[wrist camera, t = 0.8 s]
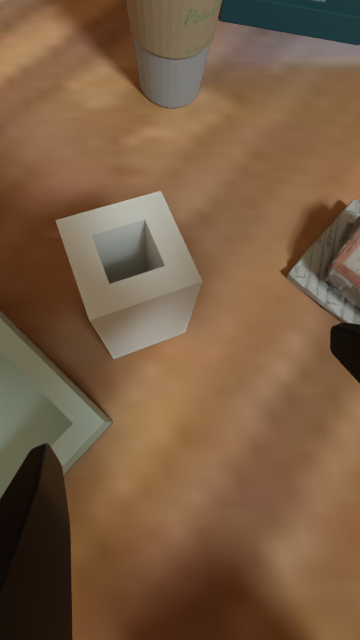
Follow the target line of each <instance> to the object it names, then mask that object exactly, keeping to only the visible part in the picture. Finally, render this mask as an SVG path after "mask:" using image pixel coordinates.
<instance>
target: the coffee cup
mask: <svg viewBox="0 0 360 640" xmlns="http://www.w3.org/2000/svg"><path fill="white" fill-rule="evenodd" d="M221 3H222V0H126V4H127V11H128V18H129V24H130V30H131V33H132V36H133V40H134V47H135V54H136V61H137V68H138V75H139V82H140V87H141V90H142V92H143V94H144V95H145V96H146V97H147V98H148V99H149V100H150V101H152V102H153V103H155V104H157V105H159V106H162V107H166V108H179V107H183V106H185V105H187V104H189V103H190V102H192V101H193V100H194V99H195V98H196V96H197V94H198V92H199V88H200V84H201V80H202V75H203V71H204V67H205V63H206V59H207V54H208V50H209V46H210V43H211V42H212V40H213V36H214V32H215V28H216V24H217V20H218V16H219V11H220V7H221Z"/></svg>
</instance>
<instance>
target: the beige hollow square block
mask: <svg viewBox="0 0 360 640" xmlns="http://www.w3.org/2000/svg"><path fill="white" fill-rule="evenodd" d="M55 221H56V224H57V227H58V230H59V233H60V235H61V238H62V241H63V244H64V247H65V250H66V253H67V256H68V259H69V262H70V265H71V268H72V271H73V274H74V277H75V280H76V283H77V286H78V289H79V292H80V295H81V298H82V300H83V303H84V306H85V309H86V312H87V315H88V318H89V321H90V322H91V324H92V326H93V327H94V329H95V330H96V332H97V334H98V335H99V337H100V338H101V340H102V342H103V343H104V345H105V346H106V348H107V349H108V351H109V353H110V354H111V356H112V357H113V359H116V358H119V357H121V356H124V355H127V354H129V353H132V352H135V351H137V350H140V349H143V348H145V347H148V346H151V345H153V344H156V343H159V342H161V341H164V340H167V339H169V338H172V337H175V336H178V335H180V334H183V333H185V332H186V329H187V326H188V323H189V320H190V317H191V314H192V311H193V308H194V306H195V303H196V300H197V297H198V294H199V291H200V288H201V285H202V282H203V281H202V279H201V277H200V275H199V272H198V270H197V268H196V266H195V264H194V262H193V259H192V257H191V255H190V253H189V251H188V249H187V246H186V244H185V242H184V240H183V238H182V236H181V233H180V231H179V229H178V227H177V225H176V223H175V220H174V218H173V216H172V214H171V212H170V210H169V207H168V205H167V203H166V201H165V199H164V197H163V194H162V192H161V191H158V192H155V193H151V194H148V195H144V196H140V197H137V198H133V199H130V200H126V201H122V202H119V203H115V204H112V205H108V206H104V207H101V208H97V209H94V210H90V211H86V212H83V213H79V214H76V215H72V216H68V217H65V218H61V219H58V220H55Z"/></svg>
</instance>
